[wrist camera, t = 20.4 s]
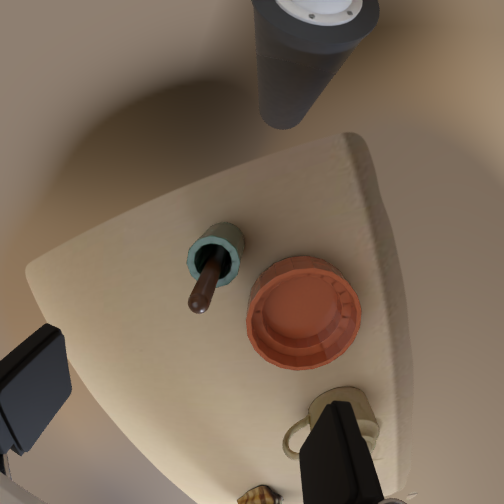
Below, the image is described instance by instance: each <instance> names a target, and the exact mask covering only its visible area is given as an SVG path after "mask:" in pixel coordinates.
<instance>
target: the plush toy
mask: <svg viewBox="0 0 504 504" xmlns="http://www.w3.org/2000/svg"><path fill="white" fill-rule="evenodd" d="M282 501H283V497H282V496H280V495H278V494H276V493H274V492H272V490H271V489H270V488H269V487H268V486H260V487H257V488H255V489H252V490H250V491H248V492H247V493H246V494H245V495H244V496H242V497H241V498H239V499H238V500H237V502H238V504H282Z"/></svg>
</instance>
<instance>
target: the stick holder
mask: <svg viewBox="0 0 504 504" xmlns="http://www.w3.org/2000/svg"><path fill="white" fill-rule="evenodd" d="M215 244H217V245H221V246H223V247H224V248H225V249H226V250H227V251H228V253H227V256H226V259H225V262H224V265H223V267H222V270H221V273H220V276H219V279H218V282H217V285H216V288H217V287H221V286H224V285H228V284H229V283H230V282H231V281H232V280H233V279H234V278H235V277H236V276H237V275H238V271H239V267H240V262H241V258H242V254H243V250H244V246H245V241H244V236H243V234H242V232H241V231H240V230H239V228H237V227H236V226H235V225H233V224H231V223H226V222H221V223H217V224H214V225H212V226H211V227H210V228H209V229H208V230H207V231H206V232H205V233H204V234H203V235H202V236H201V237H200V238H199V239H198V240H197V241H196V242H195V243H194V244H193V245H192V246H191V247H190V249H189V252H188V257H187V266H188V268H189V271H190V274H191V276H192V277H194V278H195V279H196V280H197V281H198V278H199V276H200V274H201V272H202V270H203V268H204V266H205V264H206V262H207V260H208V258H209V256H210V254H211V252H212V250H213V248H214V246H215Z"/></svg>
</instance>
